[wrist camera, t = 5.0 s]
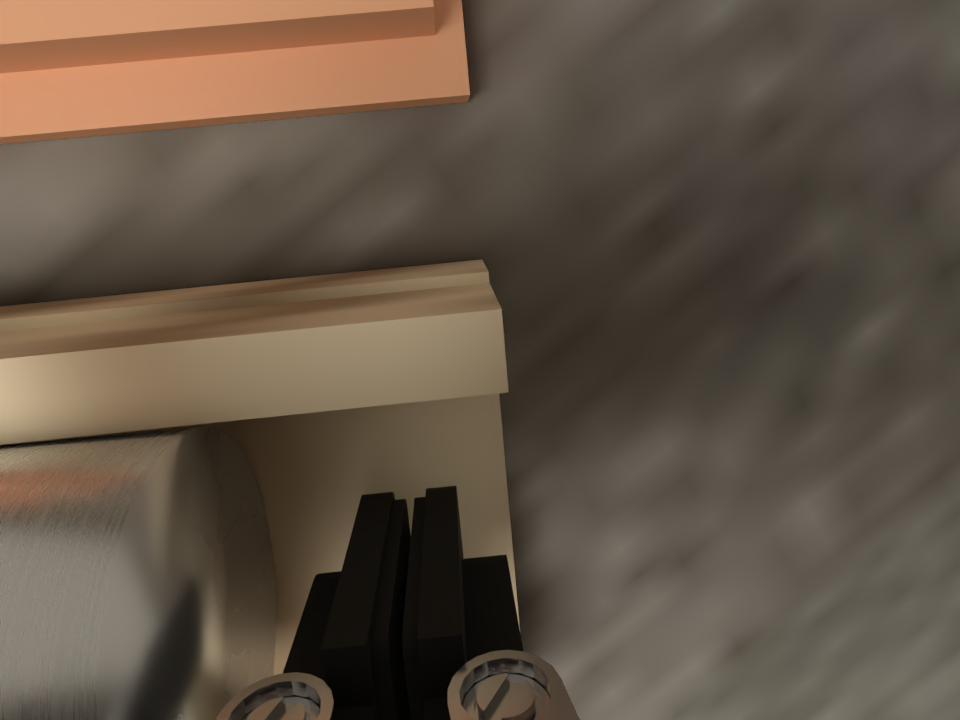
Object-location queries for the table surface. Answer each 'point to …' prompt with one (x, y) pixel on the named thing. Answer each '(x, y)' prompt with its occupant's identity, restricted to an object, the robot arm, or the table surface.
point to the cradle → (219, 62)
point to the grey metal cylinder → (132, 577)
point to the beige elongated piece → (289, 396)
